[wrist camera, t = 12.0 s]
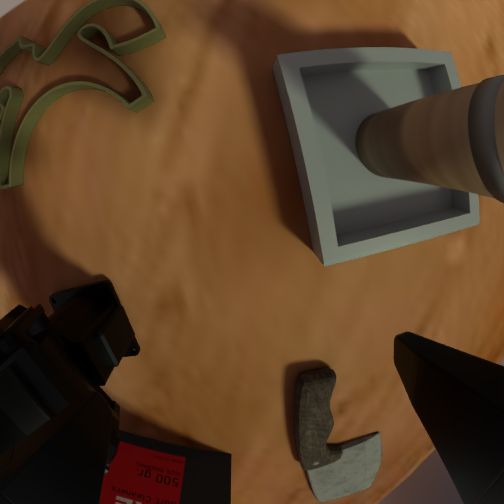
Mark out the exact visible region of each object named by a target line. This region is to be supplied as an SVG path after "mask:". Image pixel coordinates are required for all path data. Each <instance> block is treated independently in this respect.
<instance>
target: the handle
mask: <svg viewBox="0 0 504 504" xmlns="http://www.w3.org/2000/svg"><path fill="white" fill-rule="evenodd" d="M355 144H356V150H357V154H358V156H359V159H360V161H361V162H362V164H363V165H364V166H365V167H366V168H367V169H368V170H369V171H370V172H372V173H373V174H375V175H377V176H380V177H385V178H392V179H399V180H405V181H412V182H418V183H423V184H429V185H435V186H440V187H445V188H450V189H455V190H460V191H465V192H470V193H474V194H479V195H483V196H488V197H492V198H495V199H497V200H498V201H500V202H502V203H504V75H500V76H495V77H491V78H487V79H485V80H483V81H481V82H480V83H478V84H473V85H469V86H465V87H461V88H457V89H453V90H450V91H446V92H442V93H439V94H435V95H431V96H428V97H425V98H421V99H418V100H414V101H411V102H408V103H405V104H402V105H398V106H395V107H392V108H389V109H386V110H383V111H380V112H377V113H374V114H372V115H369V116H368V117H366V118H365V119H364V120H363V121H362V122H361V124H360V125H359V127H358V130H357V133H356V139H355Z"/></svg>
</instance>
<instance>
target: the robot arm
mask: <svg viewBox="0 0 504 504" xmlns="http://www.w3.org/2000/svg"><path fill="white" fill-rule="evenodd" d="M105 286H107V287H108V290H107V289H106V288H105ZM54 298H55V299H56V301H55V300H54ZM49 300H50V303H51V305H52V307H53V309H54V313H53V314H52V315H51V316H49V317H48V318H47V316H46V315H45V313H44V311H45V310H44V309H43V307H42V306H41V304H39V305H37V306H36V307H34V308H32V306H31V307H30V308H25V307H23V306H22V305H20V304H19V305H18V306H17V307H15V308H14V309H13V310H11V311H10V312H9V313H8V314H7V315H5V316H4V317H3V318H2V319H1V320H0V504H99V503H100V496H101V490H102V485H103V479H104V474H105V473H107V472H108V471H109V469H110V468H109V467H108V466H109V465H110V463H111V462H112V461H113V459H114V458H115V456H116V454H117V451H118V446H119V444H120V436H119V412H120V406H119V405H118V404H117V403H116V402H115V401H112V400H111V398H110V397H109V396H108V395H107V394H106V393H105V392H104V391H103V390H102V388H101V387H100V386H104V385H105V384H106V382H107V380H108V378H109V376H110V374H111V372H112V371H113V369H114V367H117V366H118V365H119V363H120V361H121V359H122V357H128V356H136V355H138V354H139V352H140V347H139V345H138V342H137V340H136V338H135V336H134V335H135V333H134V331H133V329H132V326H131V324H130V322H129V319H128V317H127V315H126V313H125V310H124V308H123V307H122V306H121V304H120V302H119V299H118V297H117V294H116V292H115V289H114V287H113V285H112V283H111V282H110V281H108V280H105V281H101V282H97V283H93V284H89V285H85V286H81V287H77V288H72V289H68V290H64V291H60V292H56V293H53V294H52V295H51V296H50V297H49ZM132 348H134V349H135V350H133V349H132ZM394 363H395V366H396V368H397V371H398V373H399V375H400V378H401V380H402V382H403V385H404V387H405V389H406V392H407V394H408V397H409V399H410V401H411V404H412V406H413V408H414V409H415V411H416V413H417V415H418V417H419V418H420V420H421V422H422V424H423V426H424V427H425V429H426V431H427V433H428V435H429V437H430V438H431V440H432V442H433V444H434V446H435V448H436V450H437V452H438V453H439V455H440V457H441V459H442V461H443V463H444V465H445V467H446V469H447V471H448V473H449V475H450V477H451V479H452V481H453V483H454V485H455V487H456V489H457V491H458V493H459V495H460V497H461V499H462V501H463V503H464V504H504V366H502V365H499V364H496V363H493V362H490V361H488V360H485V359H482V358H479V357H476V356H474V355H471V354H468V353H465V352H463V351H460V350H457V349H454V348H452V347H449V346H446V345H444V344H441V343H438V342H435V341H433V340H430V339H427V338H425V337H422V336H419V335H417V334H414V333H411V332H404V333H401V334H398V335H396V336H395V339H394Z"/></svg>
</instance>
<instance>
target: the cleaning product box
mask: <svg viewBox="0 0 504 504" xmlns="http://www.w3.org/2000/svg"><path fill="white" fill-rule="evenodd" d="M119 436H120V444H119V446H118V451H117V454H116V456H115V458H114V459H113V461H112V462H111V463H110V465H109V466H108V467H109V468H110V469H109V471H108V472H107V473H105V474H104V479H103V485H102V490H101V496H100V503H99V504H231V454H226V453H219V452H212V451H206V450H200V449H194V448H189V447H184V446H179V445H174V444H170V443H165V442H161V441H157V440H153V439H149V438H145V437H141V436H138V435H134V434H131V433H127V432H124V431H121V430H119Z"/></svg>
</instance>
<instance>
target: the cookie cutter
mask: <svg viewBox="0 0 504 504" xmlns="http://www.w3.org/2000/svg"><path fill="white" fill-rule="evenodd" d="M114 6H131V7H135V8H138V9H140V10H142V11H143V12H145V13H146V14H148V15H149V16H150V17H151V18H152V20H153V22H154V24H155V27H156V28H154V29H152V30H150V31H149V32H147V33H145V34H143V35H140V36H138V37H136V38H134V39H131V40H128V41H126V42H123V43H119V44H118V43H117V41H116V40H115V38H114V37H113V36H112V35H111V34H110V33H109V32H107V31H106V30H105V29H104V28H103V27H102V26H100V25H98V24H95V23H90V24H86V25H84V26H83V27H81V26H82V25H83V24H84V23H85V22H86V21H87V20H88V19H90V18H91V17H92V16H94V15H95V14H97V13H98V12H100V11H102V10H104V9H107V8H110V7H114ZM80 27H81V28H80ZM79 28H80V29H79ZM78 30H79V31H78ZM77 31H78V33H77V36H78V38H79V39H80V40H81V41H83V42H84V43H86V44H87V45H89V46H90V47H92V48H93V49H95V50H97V51H98V52H100V53H102V54H103V55H105V56H107V57H108V58H110V59H112V60H113V61H114V62H116V63H117V64H118V65H119V66H120V67H122V68H123V69H124V70H125V71H126V72H127V73H128V74H129V76H130V77H131V78H132V79H133V80H134V82H135V83H136V85H137V86H138V88H139V90H140V91H141V94H142V96H141V97H139V98H138V99H136V100H135V101H133V102H132V103H131V102H130V101H129V100H128V99H126V98H125V97H123V96H122V95H120V94H118V93H116V92H114V91H112V90H110V89H108V88H106V87H104V86H102V85H99V84H96V83H92V82H85V81H75V82H68V83H64V84H61V85H59V86H56V87H54V88H53V89H51V90H49V91H48V92H46V93H45V94H44V95H42V96H41V97H40V98H39V99H38V100H37V101H36V102H35V103H34V104H33V106H32V107H31V108H30V109H29V111H28V112H27V114H26V115H25V117H24V119H23V121H22V123H21V125H20V127H19V129H18V132H17V135H16V137H15V141H14V144H13V148H12V141H13V133H14V127H15V122H16V118H17V114H18V111H19V108H20V105H21V102H22V100H23V91H22V89H20V88H16V87H11V86H5V87H3V88H2V89H1V90H0V108H1V112H0V122H1V121H2V122H1V127H0V190H2V189H7V188H11V187H15V186H18V185H22V184H23V169H24V160H25V154H26V149H27V145H28V142H29V139H30V136H31V133H32V131H33V129H34V127H35V125H36V123H37V121H38V120H39V118H40V116H41V115H42V114H43V112H44V111H45V110H46V109H47V108H48V107H49V106H50V105H51V104H52V103H53V102H54V101H55V100H57V99H58V98H60V97H61V96H63V95H65V94H67V93H69V92H72V91H76V90H81V89H96V90H101V91H104V92H107V93H109V94H111V95H112V96H114V97H115V98H116V99H118V100H119V101H120V102H121V103H122V104H124V105H125V106H126V107H127V108H128V109H129V110H132V111H134V112H138V111H140V110H141V109H143V108H145V107H146V106H148V105H149V104H151V103H152V102H154V99H153V97H152V95H151V93H150V91H149V89H148V88H147V86H146V85H145V84H144V82H143V81H142V80H141V79H140V78H139V77H138V76H137V75H136V74H135V73H134V72H133V71H132V70H131V69H130V68H129V67H127V66H126V65H125V64H124V63H122V62H121V61H120V60H118V59H117V58H116V57H114V56H113V55H111V54H110V53H108V52H107V51H105V50H104V49H102V48H100V47H99V46H97V45H95V44H93V43H92V42H90V38H91V37H92V36H93V35H95V34H104V36H105V37H106V39H107V41H108V44H109V47H110V49H111V50H112V51H114V52H115V53H116V54H118V55H119V56H120V55H125V54H129V53H132V52H135V51H138V50H141V49H143V48H146V47H148V46H150V45H152V44H154V43H156V42H158V41H160V40H162V39H164V38H165V37H166V36H165V33H164V31H163V28H162V26H161V25H160V23H159V21H158V20H157V18H156V17H155V15H154V14H153V12H152V11H151V9H150V8H149V7H148V6H147V5H146V4H145V3H144V2H142V1H141V0H93V1H91V2H89V3H88V4H86V5H85V6H83V7H82V8H81V9H79V10H78V11H77V12H76V13H75V14H74V15H73V16H72V17H71V18H70V19H69V20H68V21H67V22H66V24H65V25H64V26H63V27H62V29H61V30H60V31H59V33H58V34H57V35H56V37H55V38H54V39H53V41H52V42H51V44H50V45H49V46H48V48H47V49H46V48H44V47H42V46H40V45H37V44H35V43H31V42H32V41H31V40H29V39H27V38H24V37H22V36H21V37H19V38H18V39H17V40H15V41H14V42H13V43H12V44H11V45H9V46H8V47H7V48H6V49H5V50H4V51H3V52H2V53H1V54H0V75H1V73H2V71H3V70H4V69H5V67H6V66H7V65H8V63H9V62H10V61H11V60H12V59H13V58H14V57H15V56H16V55H17V54H18V53H19V52H20V51H21V50H23V49H25V50H27V51H30V52H32V57H33V59H34V60H35V61H37V62H40V63H43V64H45V65H50V64H51V63H52V62H54V61H55V59H56V58H57V57H58V56H59V55H60V53H61V52H62V50H63V49H64V48H65V46H66V45H67V44H68V42H69V41H70V40H71V38H72V37H73V36H74V34H75V33H76V32H77Z"/></svg>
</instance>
